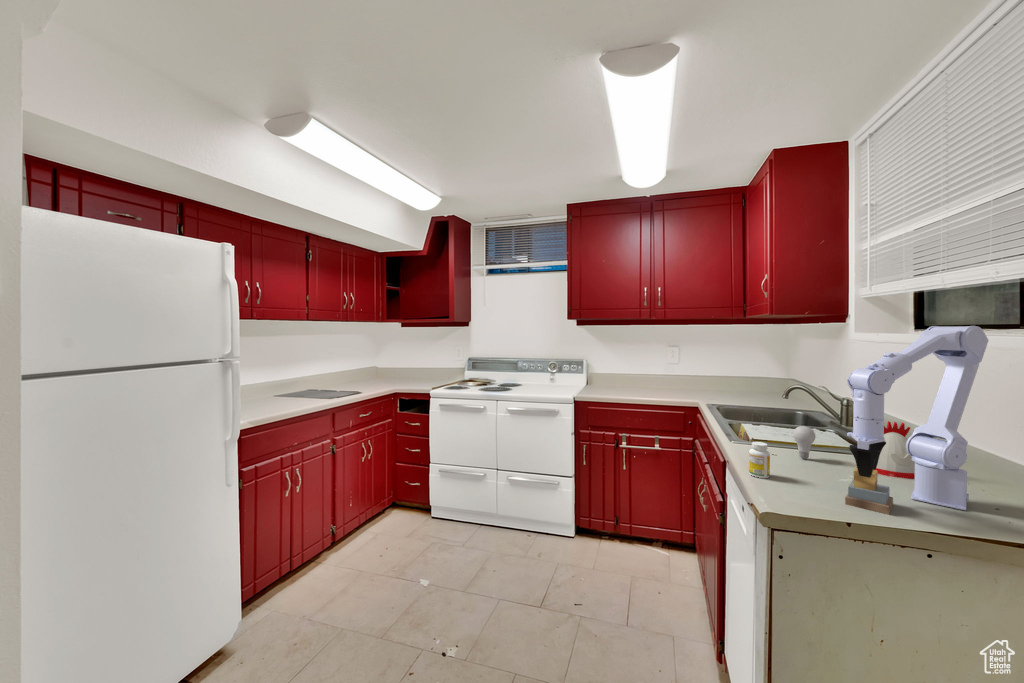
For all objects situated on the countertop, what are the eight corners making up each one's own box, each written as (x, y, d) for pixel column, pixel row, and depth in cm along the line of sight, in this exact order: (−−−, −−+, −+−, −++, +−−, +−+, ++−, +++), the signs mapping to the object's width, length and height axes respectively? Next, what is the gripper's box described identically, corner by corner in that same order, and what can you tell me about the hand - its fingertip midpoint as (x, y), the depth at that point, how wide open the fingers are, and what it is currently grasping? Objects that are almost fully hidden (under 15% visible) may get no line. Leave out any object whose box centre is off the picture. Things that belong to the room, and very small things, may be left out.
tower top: (889, 496, 103) (889, 486, 103) (885, 505, 98) (886, 494, 98) (853, 488, 108) (853, 479, 108) (848, 496, 103) (848, 486, 103)
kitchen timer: (935, 481, 118) (936, 428, 117) (875, 476, 122) (876, 425, 122) (906, 465, 131) (907, 418, 130) (853, 461, 135) (854, 415, 135)
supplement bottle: (756, 479, 121) (757, 446, 120) (744, 472, 126) (744, 441, 126) (774, 478, 121) (774, 445, 121) (761, 472, 127) (761, 440, 126)
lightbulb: (819, 461, 135) (820, 428, 135) (800, 462, 135) (801, 428, 135) (806, 456, 141) (807, 423, 141) (788, 456, 141) (788, 424, 141)
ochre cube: (877, 486, 103) (877, 470, 103) (874, 491, 100) (874, 474, 100) (856, 482, 106) (856, 466, 106) (853, 486, 103) (853, 470, 103)
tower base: (892, 507, 103) (893, 497, 103) (888, 517, 97) (888, 507, 97) (851, 497, 109) (851, 488, 108) (845, 507, 103) (845, 497, 103)
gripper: (853, 411, 110) (852, 462, 111) (841, 419, 101) (841, 475, 101) (889, 415, 105) (888, 468, 105) (880, 424, 95) (879, 483, 96)
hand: (867, 472), depth 103 cm, fingers open, 7 cm apart
